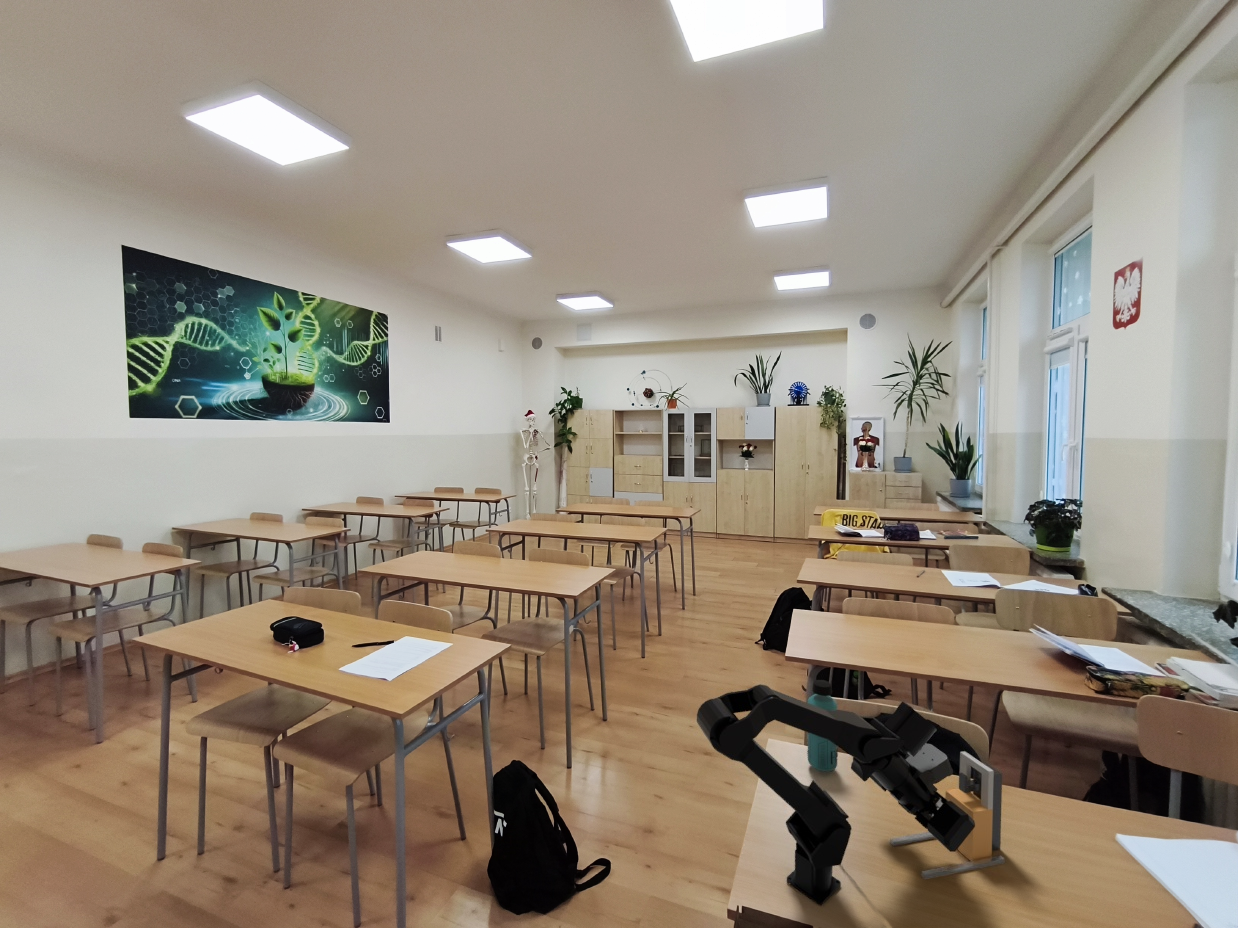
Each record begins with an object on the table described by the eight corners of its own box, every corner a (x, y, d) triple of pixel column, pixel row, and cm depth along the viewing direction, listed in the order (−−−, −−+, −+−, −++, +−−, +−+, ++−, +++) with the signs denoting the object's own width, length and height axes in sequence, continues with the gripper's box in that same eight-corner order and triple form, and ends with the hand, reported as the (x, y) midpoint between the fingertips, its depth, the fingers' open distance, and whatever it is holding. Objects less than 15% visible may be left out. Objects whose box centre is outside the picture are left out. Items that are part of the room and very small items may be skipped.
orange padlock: (972, 862, 94) (974, 773, 93) (944, 837, 100) (946, 754, 99) (991, 858, 95) (993, 770, 94) (962, 834, 101) (964, 751, 100)
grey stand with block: (928, 889, 90) (930, 801, 89) (886, 845, 100) (888, 765, 99) (1018, 870, 94) (1020, 785, 93) (969, 829, 103) (971, 752, 103)
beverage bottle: (833, 782, 118) (833, 692, 117) (802, 771, 122) (803, 683, 121) (841, 767, 123) (842, 681, 122) (811, 757, 127) (812, 673, 126)
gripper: (967, 767, 85) (1022, 826, 88) (885, 709, 103) (932, 759, 106) (922, 823, 84) (979, 880, 87) (847, 754, 102) (896, 804, 105)
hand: (945, 825), depth 96 cm, fingers closed
